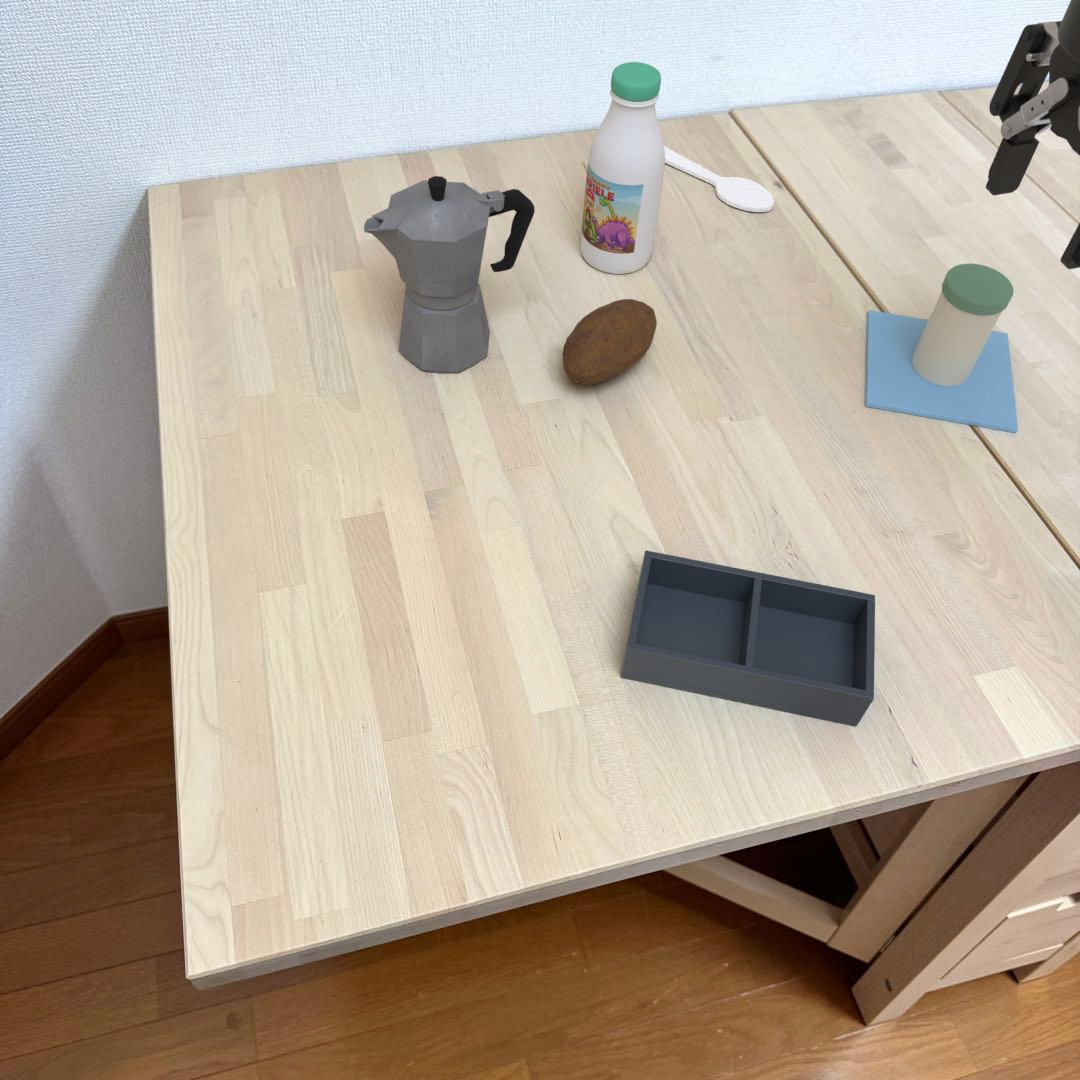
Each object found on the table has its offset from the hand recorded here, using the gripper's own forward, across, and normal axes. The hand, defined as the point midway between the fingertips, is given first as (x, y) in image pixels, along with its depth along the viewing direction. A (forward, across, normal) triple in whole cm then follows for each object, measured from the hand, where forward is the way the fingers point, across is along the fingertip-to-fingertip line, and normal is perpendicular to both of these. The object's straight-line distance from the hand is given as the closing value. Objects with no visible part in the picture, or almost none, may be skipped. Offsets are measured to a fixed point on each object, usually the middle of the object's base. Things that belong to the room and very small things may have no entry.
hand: (1036, 226), depth 66 cm
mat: (+28, +14, -12) cm, 33 cm away
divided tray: (+28, -11, +20) cm, 36 cm away
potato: (+28, +22, +20) cm, 41 cm away
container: (+27, +14, -12) cm, 33 cm away
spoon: (+27, +50, -2) cm, 57 cm away
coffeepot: (+28, +30, +33) cm, 52 cm away
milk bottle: (+27, +39, +13) cm, 50 cm away
